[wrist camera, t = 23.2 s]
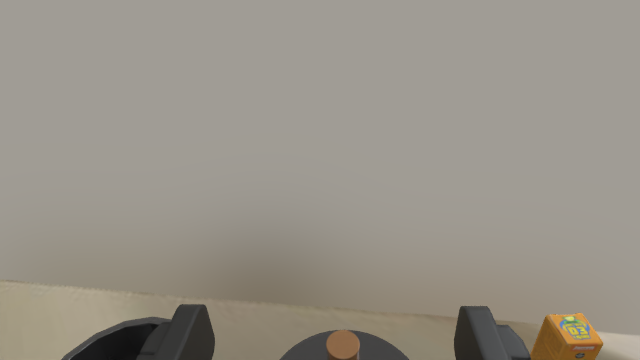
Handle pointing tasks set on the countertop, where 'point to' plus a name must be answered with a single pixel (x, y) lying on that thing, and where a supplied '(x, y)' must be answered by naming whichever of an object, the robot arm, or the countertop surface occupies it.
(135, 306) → the countertop surface
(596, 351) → the supplement box
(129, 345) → the pot
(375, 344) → the lid
